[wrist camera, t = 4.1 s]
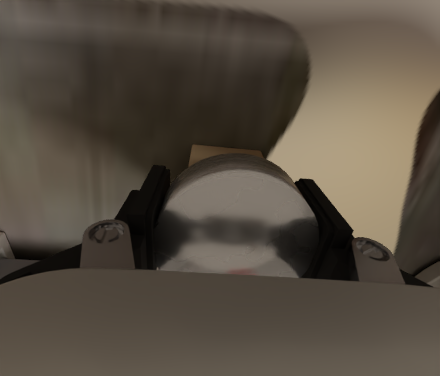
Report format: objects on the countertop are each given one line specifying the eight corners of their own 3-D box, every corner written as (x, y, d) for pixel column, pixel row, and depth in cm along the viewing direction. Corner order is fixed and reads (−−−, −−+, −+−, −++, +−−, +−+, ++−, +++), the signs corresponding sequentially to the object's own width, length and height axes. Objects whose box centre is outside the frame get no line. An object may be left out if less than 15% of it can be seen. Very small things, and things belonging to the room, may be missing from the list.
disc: (319, 160, 9) (344, 185, 7) (282, 270, 12) (294, 306, 10) (161, 145, 9) (149, 168, 7) (162, 264, 12) (153, 301, 10)
